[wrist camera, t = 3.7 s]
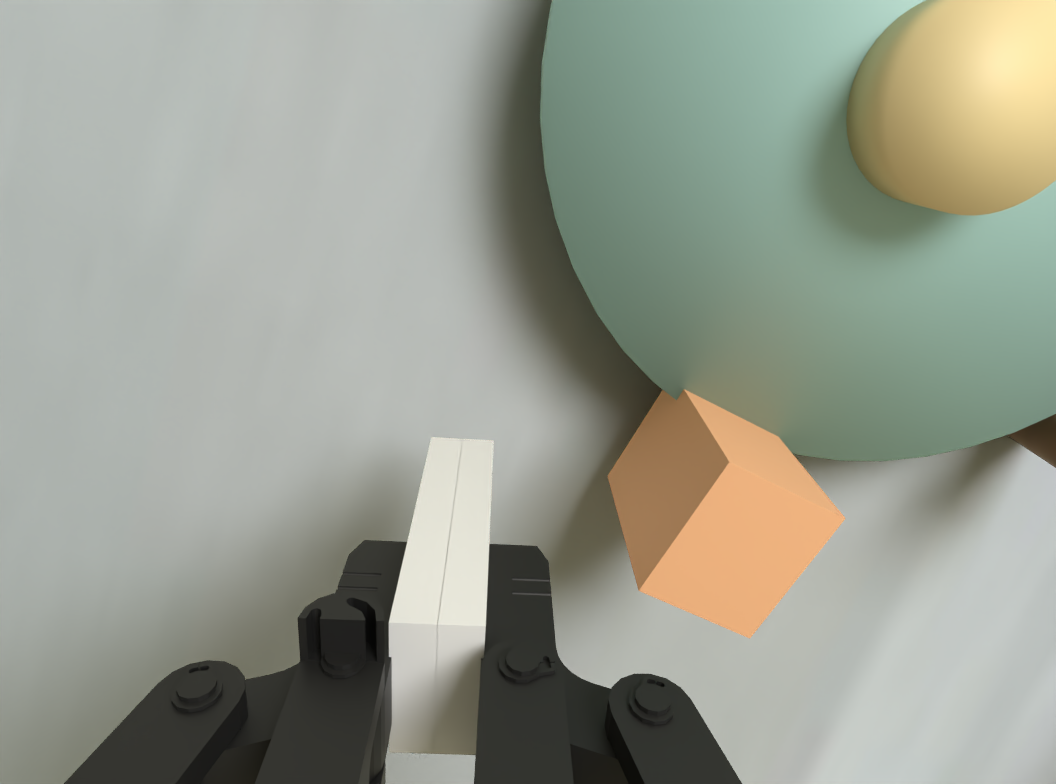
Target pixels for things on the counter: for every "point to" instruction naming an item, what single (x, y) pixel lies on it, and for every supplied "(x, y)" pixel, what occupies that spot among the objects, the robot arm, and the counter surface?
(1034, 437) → the dowel
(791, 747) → the counter surface
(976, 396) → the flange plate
